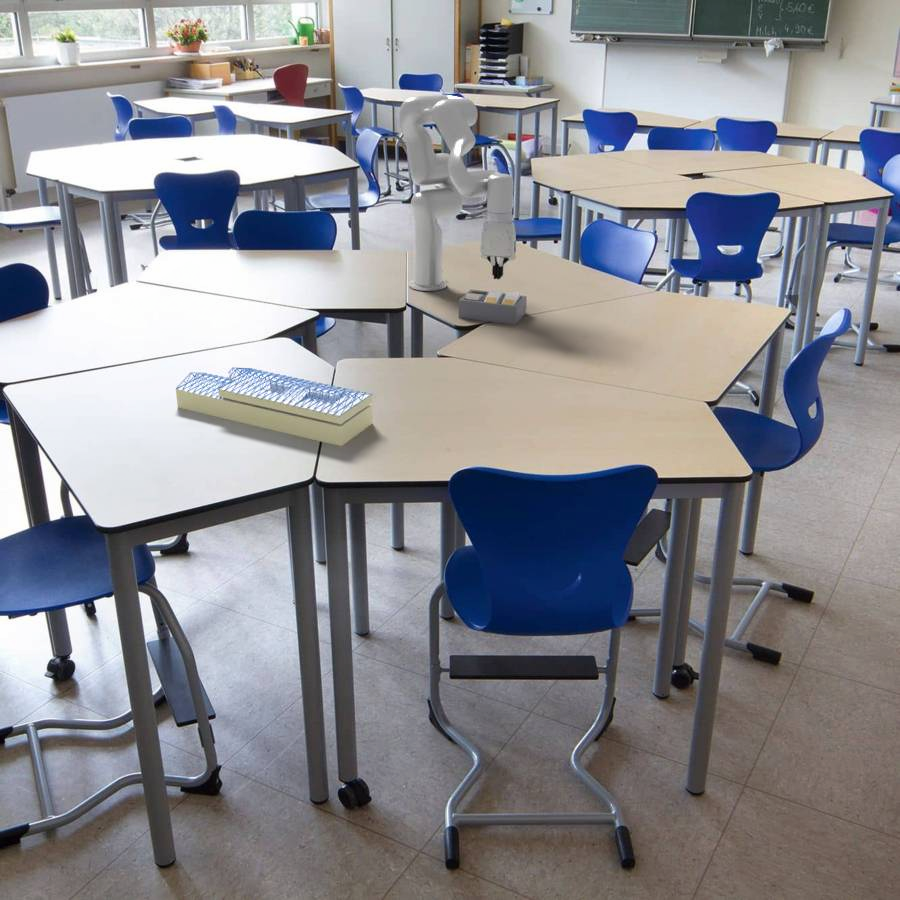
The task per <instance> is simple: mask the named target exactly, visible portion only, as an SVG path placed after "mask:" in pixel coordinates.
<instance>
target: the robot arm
mask: <svg viewBox="0 0 900 900" xmlns="http://www.w3.org/2000/svg"><path fill="white" fill-rule="evenodd" d="M478 114H479V113H478V108H477V106H476V105H475V103H474V102H473V100H471V99H469V98H467V97H460V96H457V95H455V96H454V95H449V94H436V95H435V94H434V95H418V96H411V97H409V98H407V99H405V100H404V101H403V102H402V103H401V106H400V108H399V111H398V121H399V126H400V127H399V128H400V129H401V130H400V131H401V133H402V135H403V139H404V142H405V146H406V152H407V160H408V166H409V167H408V168H409V173H410V178H411V180H412V182H413V183H414V184H415V185H416V186H420V187H422V186H433V185H434V186H435V185H438V186H439V188H432V189H431V188H430V189H425V190H421V191H418V192H416V193H415V194H414V195H413V196H412V198H411V201H410V209H411V210H410V211H411V215H412V223H413V225H412V226H413V279H411V280H409V281H408V287H409V288H410V289H413V290H417V291H423V292H434V291H435V292H436V291H440V290H444V289H446V287H447V284H448V283H447V282H446V281H445V280H444V279H443V274H444V271H443V251H444V250H443V241H444V240H443V237H444V236H443V229H442V227H441V226H440V224H439V223H438V220H442V219H447V218H453V217H455V216H458V215H459V214H460V213H461V212H462V209H463V198H466V199H473V198H475V199H476V198H481V197H486V211H484V212H483V211H482V213H481V217H483V218H485V220H484V221H483V223H482V230H481V237H480V247H479V249H480V250H479V251H480V258H482V259H485V260H487V261H488V262H490V264H491V266H492V269H491V270H492V272H491V274H492V276H493V279H494V280H496V279H497V280H501V279H502V277H503V276H504V265H506V263H507V262H510V261H515V260H516V259H517V256H516V250H517V239H516V238H517V235H516V227H515V222H514V221H513V202H514V201H513V199H514V178H513V176H512V175H510V174H508V173H501V172H499V171H497V170H494V169H483V170H475V171H468V169H467V167H466V166H465V164H464V162H463V158H462V157H463V156H465V155H466V154H467V153H468V152H470V151H471V150H472V149H473V148H474V146H475V144H476V137H475V134H474V133H473V132H472V129H471V127H472V126H474V125H475V124H476V122H477V120H478ZM425 125H436V128H437V129H438V131H439V133H440V135H441V137H442V139H443V141H444V142H445V144H446V146H447V148H448V149H449V151H450V152H449V153H445V152H444V153H443V152H440V153H439V152H438V153H435V150H434V141H433V139H432V137H431V135H430V133H429V131H428V130H427V129H426V128H425V127H424V126H425ZM498 258H499V261H498Z"/></svg>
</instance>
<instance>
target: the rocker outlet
mask: <svg viewBox="0 0 900 900" xmlns="http://www.w3.org/2000/svg"><path fill="white" fill-rule="evenodd" d="M505 294H506V295H505V297H504V299H503V301H502V303H501V304H505V305H515V304H516V303H517V302H518V301H519V299H520V295H521V293H520V292H514V291H507V292H506V293H505Z"/></svg>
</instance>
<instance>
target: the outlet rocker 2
mask: <svg viewBox="0 0 900 900" xmlns="http://www.w3.org/2000/svg"><path fill="white" fill-rule="evenodd" d="M488 292H489V293H488V295H487V296H486V298H485V300H484V302H489V303H497V302H498V301H499V300H500V299H501V298H502V296H503V293H504V291H503V290H498V289H489V291H488Z"/></svg>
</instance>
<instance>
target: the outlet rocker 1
mask: <svg viewBox="0 0 900 900" xmlns="http://www.w3.org/2000/svg"><path fill="white" fill-rule="evenodd" d="M467 293H468V292H467ZM465 294H466V293H465ZM484 296H485V295H482V294H474V293H473V294H472V293H468V294H466V299H470V300H478V301H479V300H481V299H482V298H483V297H484Z"/></svg>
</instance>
